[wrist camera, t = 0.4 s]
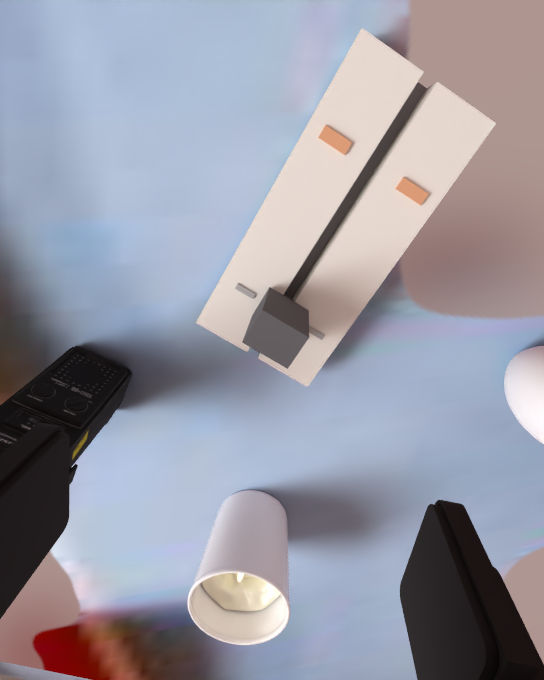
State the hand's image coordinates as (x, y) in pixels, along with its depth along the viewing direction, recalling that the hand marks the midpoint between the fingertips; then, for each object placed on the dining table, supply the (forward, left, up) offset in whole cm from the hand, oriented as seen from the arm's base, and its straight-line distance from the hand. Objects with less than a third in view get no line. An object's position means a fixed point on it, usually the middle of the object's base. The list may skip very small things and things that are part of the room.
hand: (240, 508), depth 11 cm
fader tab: (+1, -3, -31) cm, 31 cm away
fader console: (+1, +5, -33) cm, 33 cm away
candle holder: (+12, -28, -33) cm, 45 cm away
